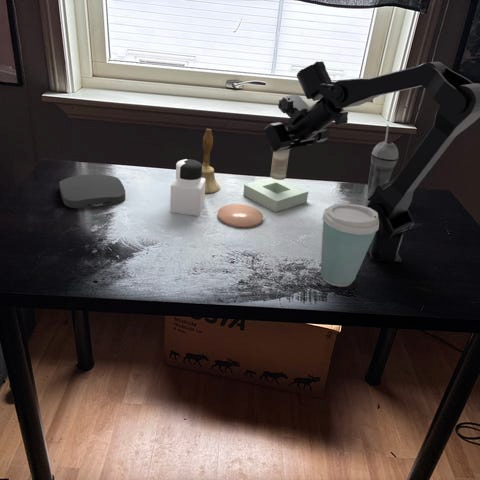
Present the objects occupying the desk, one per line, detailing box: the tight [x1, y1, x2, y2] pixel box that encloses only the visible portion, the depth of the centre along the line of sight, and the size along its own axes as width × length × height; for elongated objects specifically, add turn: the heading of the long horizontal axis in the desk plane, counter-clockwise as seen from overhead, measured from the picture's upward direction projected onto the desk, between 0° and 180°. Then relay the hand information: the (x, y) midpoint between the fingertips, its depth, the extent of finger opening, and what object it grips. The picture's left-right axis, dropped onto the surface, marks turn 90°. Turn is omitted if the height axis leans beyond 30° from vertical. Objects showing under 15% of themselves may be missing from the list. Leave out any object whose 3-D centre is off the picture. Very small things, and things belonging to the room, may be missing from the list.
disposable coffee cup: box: [320, 202, 379, 288], centre depth 91 cm, size 11×11×15 cm
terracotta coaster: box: [217, 203, 264, 229], centre depth 114 cm, size 11×11×1 cm
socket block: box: [242, 177, 309, 213], centre depth 125 cm, size 12×12×3 cm
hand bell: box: [202, 128, 221, 194], centre depth 124 cm, size 8×8×16 cm
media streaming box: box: [58, 173, 126, 209], centre depth 117 cm, size 15×15×3 cm
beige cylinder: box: [269, 149, 291, 180], centre depth 120 cm, size 4×4×11 cm
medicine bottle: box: [169, 158, 206, 217], centre depth 112 cm, size 7×7×12 cm
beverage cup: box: [366, 124, 399, 197], centre depth 129 cm, size 7×7×20 cm
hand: (277, 149), depth 120 cm, fingers closed on beige cylinder, 4 cm apart
